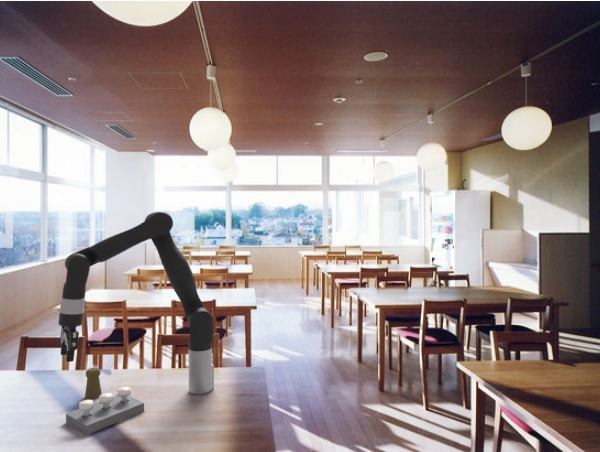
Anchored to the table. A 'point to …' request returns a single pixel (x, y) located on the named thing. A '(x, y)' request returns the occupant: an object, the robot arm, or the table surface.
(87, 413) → the knob
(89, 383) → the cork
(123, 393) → the knob
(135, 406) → the control board
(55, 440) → the table surface
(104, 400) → the knob middle
